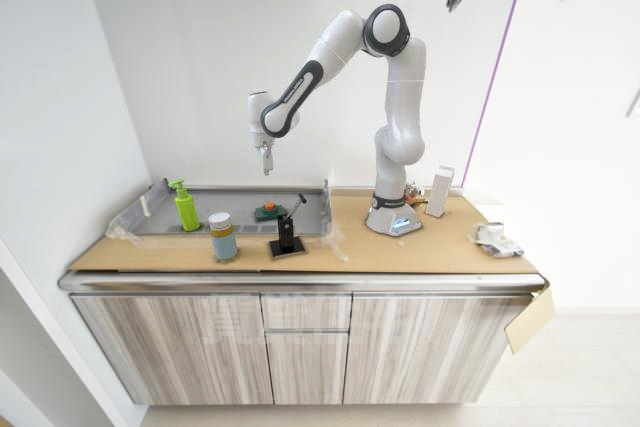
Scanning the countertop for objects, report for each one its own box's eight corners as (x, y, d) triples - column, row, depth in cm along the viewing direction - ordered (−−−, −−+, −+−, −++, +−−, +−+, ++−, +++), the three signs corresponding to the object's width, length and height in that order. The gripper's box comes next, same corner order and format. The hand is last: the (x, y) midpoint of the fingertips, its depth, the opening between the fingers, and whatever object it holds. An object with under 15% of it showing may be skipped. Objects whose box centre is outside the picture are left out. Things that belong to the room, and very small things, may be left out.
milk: (438, 217, 107) (452, 170, 96) (424, 213, 110) (436, 166, 100) (443, 213, 111) (457, 166, 100) (429, 208, 114) (441, 163, 104)
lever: (304, 195, 81) (299, 191, 80) (308, 201, 77) (303, 197, 75) (284, 222, 83) (278, 219, 82) (287, 230, 79) (281, 227, 78)
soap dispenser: (178, 230, 95) (163, 182, 85) (192, 222, 100) (179, 176, 91) (189, 233, 93) (175, 185, 83) (203, 225, 98) (191, 179, 89)
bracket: (298, 238, 91) (297, 208, 85) (305, 252, 83) (304, 221, 77) (269, 243, 88) (266, 213, 82) (273, 259, 80) (270, 226, 74)
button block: (282, 208, 112) (281, 201, 110) (285, 218, 105) (285, 209, 103) (255, 212, 109) (254, 204, 107) (257, 222, 101) (256, 213, 99)
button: (273, 205, 107) (273, 202, 106) (275, 209, 104) (274, 205, 103) (264, 206, 106) (264, 203, 105) (265, 210, 103) (265, 207, 102)
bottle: (231, 263, 78) (223, 224, 71) (212, 260, 79) (202, 221, 72) (241, 250, 84) (235, 213, 77) (223, 248, 85) (215, 210, 78)
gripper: (276, 145, 83) (278, 182, 90) (267, 134, 100) (270, 166, 107) (257, 146, 81) (261, 184, 88) (252, 134, 98) (256, 167, 105)
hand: (266, 174), depth 97 cm, fingers closed
